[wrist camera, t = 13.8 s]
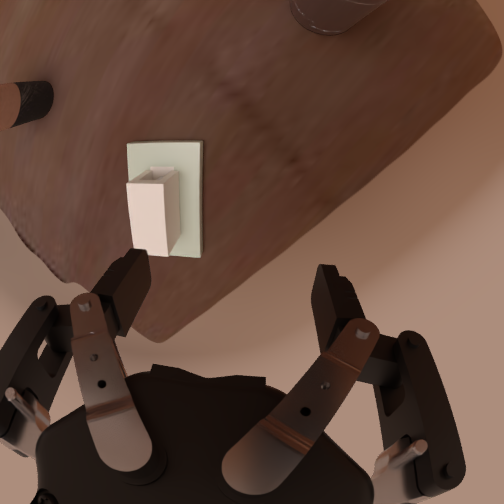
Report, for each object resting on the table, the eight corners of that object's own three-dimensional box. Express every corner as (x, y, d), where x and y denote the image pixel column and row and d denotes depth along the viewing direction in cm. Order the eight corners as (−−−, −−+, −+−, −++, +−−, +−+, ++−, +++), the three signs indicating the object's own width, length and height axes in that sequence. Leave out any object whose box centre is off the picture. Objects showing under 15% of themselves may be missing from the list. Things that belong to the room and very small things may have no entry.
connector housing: (146, 170, 36) (126, 183, 30) (178, 170, 36) (163, 183, 30) (150, 232, 41) (134, 253, 35) (180, 234, 41) (168, 256, 35)
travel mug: (30, 81, 28) (-53, 97, 11) (57, 77, 29) (-34, 89, 12) (26, 120, 32) (-55, 149, 15) (52, 119, 33) (-37, 148, 15)
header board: (132, 141, 36) (117, 147, 31) (203, 140, 36) (194, 145, 31) (141, 246, 45) (130, 261, 40) (202, 251, 45) (196, 268, 41)
